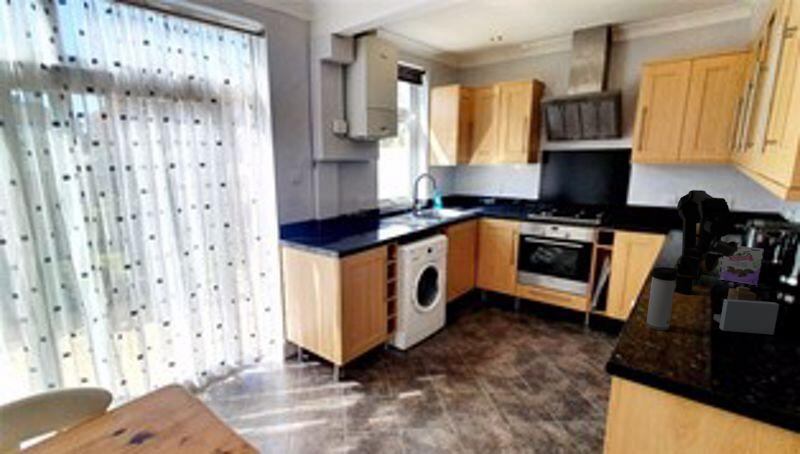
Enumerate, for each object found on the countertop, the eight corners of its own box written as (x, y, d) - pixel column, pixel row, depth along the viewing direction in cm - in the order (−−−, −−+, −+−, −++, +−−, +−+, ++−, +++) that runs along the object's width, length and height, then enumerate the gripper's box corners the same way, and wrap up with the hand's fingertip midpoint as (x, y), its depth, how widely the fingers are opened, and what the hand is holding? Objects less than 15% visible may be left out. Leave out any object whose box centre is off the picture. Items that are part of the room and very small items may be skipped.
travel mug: (673, 331, 123) (682, 271, 120) (651, 329, 125) (658, 270, 121) (664, 323, 129) (672, 266, 126) (643, 321, 131) (650, 264, 127)
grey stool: (705, 318, 134) (709, 290, 132) (751, 321, 131) (756, 293, 130) (723, 330, 124) (727, 301, 123) (773, 334, 122) (779, 304, 120)
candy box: (717, 280, 178) (722, 245, 175) (718, 277, 183) (723, 243, 180) (757, 287, 169) (764, 250, 166) (758, 284, 173) (764, 248, 171)
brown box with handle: (723, 321, 131) (729, 284, 129) (740, 323, 130) (747, 285, 128) (732, 328, 126) (739, 289, 124) (750, 329, 125) (757, 290, 123)
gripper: (721, 238, 129) (714, 283, 131) (748, 234, 137) (741, 276, 140) (684, 232, 138) (678, 274, 141) (712, 229, 147) (706, 268, 149)
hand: (702, 273), depth 142 cm, fingers open, 9 cm apart
